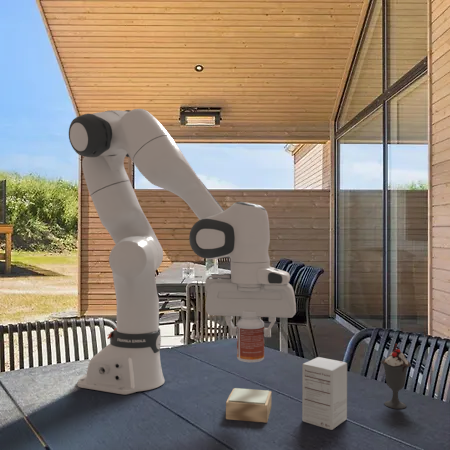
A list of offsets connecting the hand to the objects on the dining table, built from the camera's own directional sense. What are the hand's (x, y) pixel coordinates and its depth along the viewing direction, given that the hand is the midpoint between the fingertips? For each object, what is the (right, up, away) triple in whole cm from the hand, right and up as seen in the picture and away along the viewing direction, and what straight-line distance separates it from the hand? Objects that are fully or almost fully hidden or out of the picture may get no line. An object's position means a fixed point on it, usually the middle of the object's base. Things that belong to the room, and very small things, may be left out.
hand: (250, 335), depth 111 cm
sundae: (+34, -18, +6) cm, 39 cm away
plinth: (0, -17, 0) cm, 17 cm away
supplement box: (+16, -18, -4) cm, 24 cm away
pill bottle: (0, -5, 0) cm, 5 cm away
